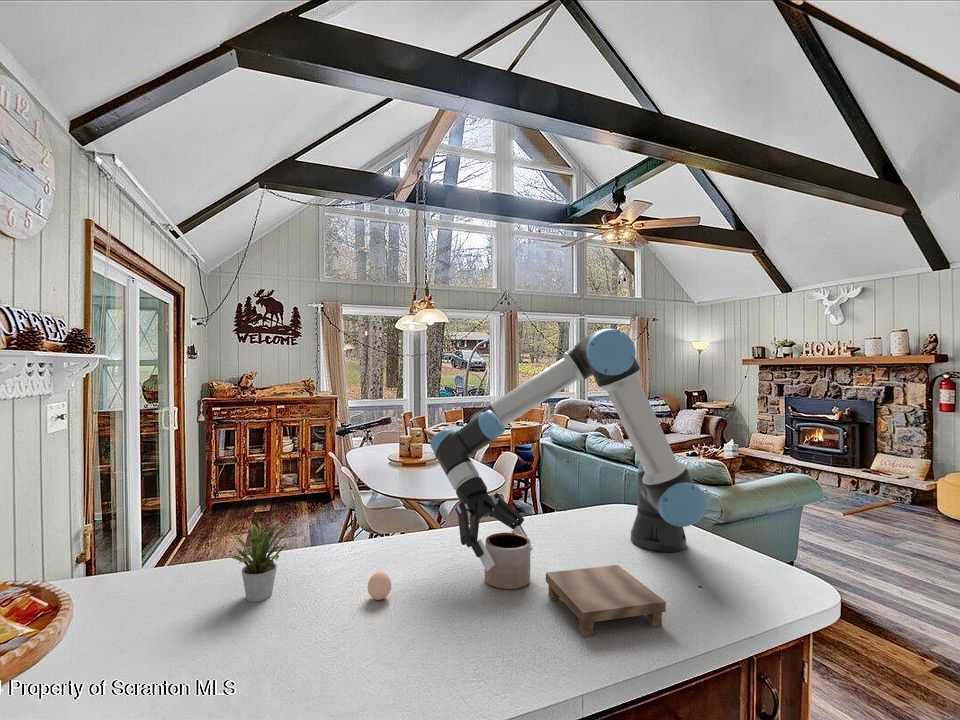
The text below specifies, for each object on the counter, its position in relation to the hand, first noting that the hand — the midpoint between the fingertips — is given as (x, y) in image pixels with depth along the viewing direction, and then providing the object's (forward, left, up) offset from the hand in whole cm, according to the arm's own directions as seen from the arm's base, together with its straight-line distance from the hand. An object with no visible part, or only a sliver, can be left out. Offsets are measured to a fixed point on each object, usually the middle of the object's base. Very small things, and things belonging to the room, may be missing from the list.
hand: (511, 560), depth 118 cm
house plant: (+54, -6, -5) cm, 55 cm away
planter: (0, -1, -6) cm, 6 cm away
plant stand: (-15, +17, -5) cm, 23 cm away
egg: (+30, +1, -5) cm, 31 cm away
